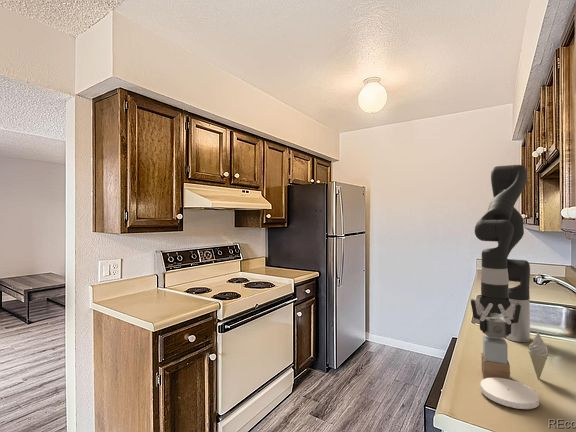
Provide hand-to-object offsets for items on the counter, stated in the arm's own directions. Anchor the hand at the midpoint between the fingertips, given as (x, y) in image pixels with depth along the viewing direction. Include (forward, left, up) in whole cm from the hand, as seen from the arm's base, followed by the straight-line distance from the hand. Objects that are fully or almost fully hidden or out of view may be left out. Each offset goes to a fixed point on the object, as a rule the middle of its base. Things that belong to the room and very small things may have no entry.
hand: (495, 333), depth 105 cm
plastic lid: (+12, +2, -15) cm, 19 cm away
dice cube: (-1, 0, -1) cm, 1 cm away
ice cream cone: (-4, +12, -14) cm, 19 cm away
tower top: (0, 0, -8) cm, 8 cm away
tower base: (0, 0, -14) cm, 14 cm away
